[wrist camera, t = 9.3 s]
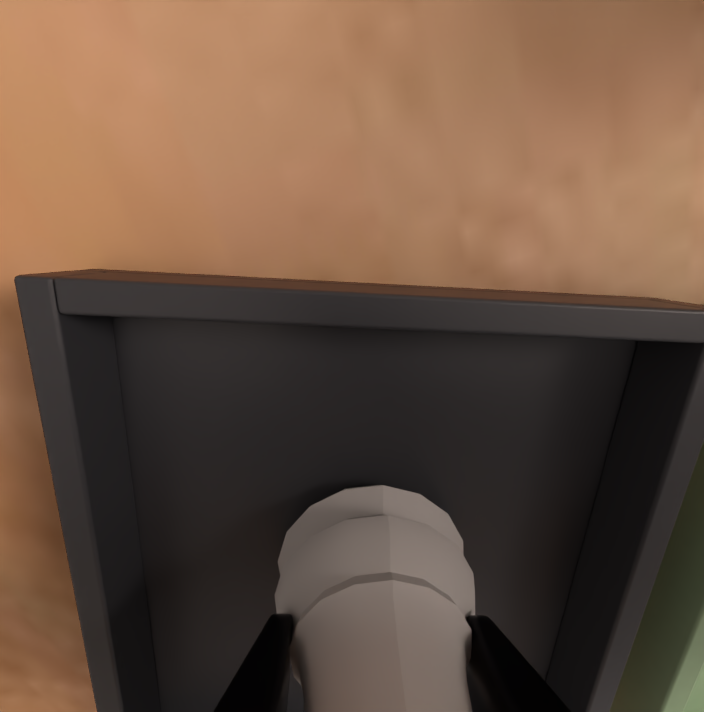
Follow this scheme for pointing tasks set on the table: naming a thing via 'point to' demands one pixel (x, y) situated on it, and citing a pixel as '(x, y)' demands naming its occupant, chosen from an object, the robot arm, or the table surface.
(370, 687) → the rook chess piece
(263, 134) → the table surface
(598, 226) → the table surface
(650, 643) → the green tray
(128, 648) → the charcoal tray
